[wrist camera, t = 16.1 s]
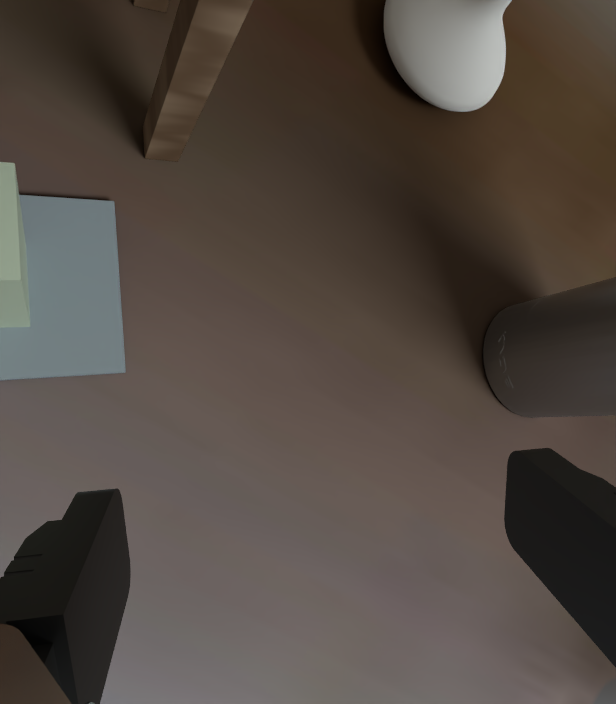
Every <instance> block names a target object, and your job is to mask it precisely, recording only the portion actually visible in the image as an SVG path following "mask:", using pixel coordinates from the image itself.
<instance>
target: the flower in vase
mask: <svg viewBox="0 0 616 704" xmlns="http://www.w3.org/2000/svg"><path fill="white" fill-rule="evenodd" d="M511 1H512V0H386V3H385V8H384V36H385V41H386V46H387V49H388V52H389V55H390V57H391V59H392V62H393V64H394V66H395V67H396V69H397V71H398V72H399V74H400V75H401V77H402V78H403V80H404V81H405V82H406V83H407V85H408V86H409V87H410V88H411V89H412V90H413V91H414V92H415V93H416V94H417V95H419V96H420V97H421V98H422V99H424V100H425V101H427V102H428V103H430V104H432V105H434V106H436V107H439V108H441V109H444V110H449V111H459V112H467V111H473V110H476V109H478V108H480V107H482V106H484V105H485V104H486V103H488V101H489V100H490V99H491V98H492V97H493V95H494V93H495V92H496V90H497V88H498V87H499V85H500V83H501V80H502V78H503V74H504V68H505V57H506V44H505V35H504V28H503V22H502V16H503V13H504V11H505V9H506V7H507V6H508V5H509V3H510V2H511Z"/></svg>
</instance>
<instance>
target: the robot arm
mask: <svg viewBox="0 0 616 704" xmlns="http://www.w3.org/2000/svg"><path fill="white" fill-rule="evenodd" d="M483 359H484V367H485V372H486V376H487V379H488V381H489V384H490V386H491V388H492V390H493V392H494V393H495V395H496V397H497V398H498V399H499V400H500V402H501V403H502V404H503V405H504V406H505V407H506V408H508V409H509V410H510V411H512V412H513V413H516V414H518V415H520V416H524V417H531V418H533V417H568V416H571V417H575V416H608V415H616V277H614V278H611V279H607V280H603V281H600V282H596V283H592V284H589V285H585V286H581V287H578V288H574V289H570V290H567V291H563V292H560V293H556V294H552V295H548V296H544V297H541V298H537V299H534V300H530V301H526V302H523V303H519V304H516V305H512V306H509V307H506V308H505V309H503V310H502V311H500V312H499V313H498V314H497V315H496V316H495V317H494V319H493V320H492V322H491V324H490V325H489V327H488V330H487V333H486V336H485V339H484V348H483ZM504 521H505V529H506V533H507V537H508V539H509V542H510V544H511V546H512V547H513V549H514V550H515V551H516V552H517V554H518V555H519V556H520V557H521V558H522V559H523V560H524V562H525V563H526V564H527V565H528V566H529V567H530V569H531V570H532V571H533V572H534V573H535V574H536V576H537V577H538V578H539V579H540V580H541V581H542V583H543V584H544V585H545V586H546V587H547V588H548V589H549V591H550V592H551V593H552V594H553V595H554V596H555V598H556V599H557V600H558V601H559V602H560V603H561V605H562V606H563V607H564V608H565V609H566V610H567V612H568V613H569V614H570V615H571V616H572V617H573V618H574V620H575V621H576V622H577V623H578V624H579V625H580V627H581V628H582V629H583V630H584V631H585V632H586V634H587V635H588V636H589V637H590V638H591V639H592V641H593V642H594V643H595V644H596V645H597V646H598V647H599V649H600V650H601V651H602V652H603V653H604V654H605V656H606V657H607V658H608V659H609V660H610V661H611V663H612V664H613V665H614V666H615V667H616V487H614V486H613V485H611V484H610V483H608V482H607V481H606V480H604V479H603V478H600V477H598V476H595V475H593V474H590V473H588V472H585V471H583V470H581V469H579V468H577V467H576V466H574V465H573V464H572V463H570V462H569V461H567V460H566V459H565V458H563V457H562V456H560V455H559V454H558V453H556V452H555V451H553V450H552V449H550V448H542V449H531V450H521V451H514V452H512V453H511V454H510V456H509V459H508V465H507V482H506V499H505V516H504ZM129 588H130V557H129V550H128V542H127V534H126V526H125V519H124V511H123V503H122V497H121V494H120V491H119V489H108V490H97V491H87V492H78V493H77V494H76V495H75V497H74V498H73V500H72V502H71V504H70V506H69V508H68V509H67V511H66V513H65V515H64V517H63V518H62V520H56V521H47V522H46V523H45V524H43V525H42V526H41V527H40V528H38V529H37V530H36V531H35V532H33V533H32V534H31V535H29V536H28V537H27V538H26V539H25V540H24V542H23V544H22V545H21V547H20V548H19V550H18V552H17V553H16V555H15V556H14V561H11V563H10V564H9V566H8V567H7V569H6V571H5V572H4V577H1V579H0V704H100V700H101V697H102V693H103V689H104V685H105V682H106V678H107V674H108V670H109V666H110V663H111V659H112V655H113V651H114V647H115V644H116V640H117V636H118V632H119V628H120V625H121V621H122V617H123V613H124V609H125V606H126V602H127V598H128V594H129Z"/></svg>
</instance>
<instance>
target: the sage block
mask: <svg viewBox="0 0 616 704" xmlns="http://www.w3.org/2000/svg"><path fill="white" fill-rule="evenodd" d="M6 327H30V309H29V291H28V273H27V255H26V242H25V234H24V227H23V220H22V213H21V206H20V198H19V191H18V184H17V177H16V169H15V163H6V162H0V328H6Z"/></svg>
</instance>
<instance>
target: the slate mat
mask: <svg viewBox="0 0 616 704" xmlns="http://www.w3.org/2000/svg"><path fill="white" fill-rule="evenodd" d="M19 198H20V206H21V213H22V220H23V227H24V234H25V242H26V255H27V273H28V291H29V309H30V327H6V328H0V380H16V379H32V378H49V377H65V376H81V375H97V374H114V373H125V372H126V370H125V355H124V340H123V326H122V311H121V296H120V281H119V266H118V251H117V236H116V221H115V206H114V201H104V200H89V199H74V198H59V197H44V196H29V195H19Z"/></svg>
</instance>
